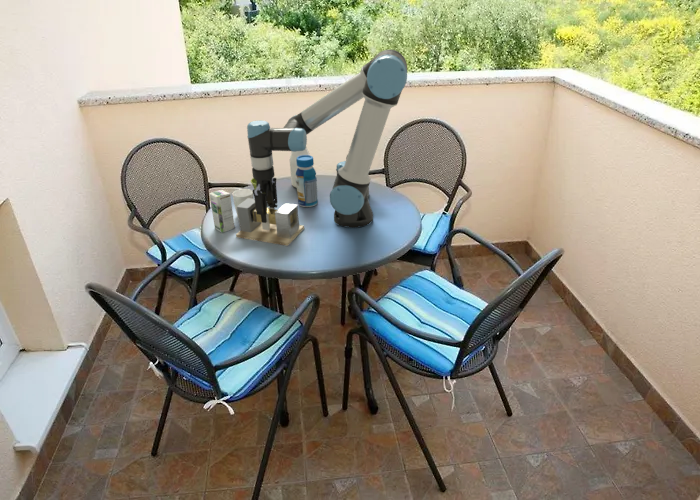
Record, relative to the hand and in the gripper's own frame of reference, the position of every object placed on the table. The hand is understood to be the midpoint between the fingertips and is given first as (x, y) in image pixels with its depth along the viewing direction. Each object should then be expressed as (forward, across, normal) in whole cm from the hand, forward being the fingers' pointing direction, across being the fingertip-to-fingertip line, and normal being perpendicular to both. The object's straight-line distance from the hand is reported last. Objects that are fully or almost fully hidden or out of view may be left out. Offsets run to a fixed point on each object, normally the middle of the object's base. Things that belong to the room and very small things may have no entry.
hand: (269, 226), depth 189 cm
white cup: (+3, -10, -16) cm, 19 cm away
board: (+3, 0, 0) cm, 3 cm away
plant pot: (+3, -27, -17) cm, 32 cm away
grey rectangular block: (+1, 0, +8) cm, 8 cm away
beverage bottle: (+3, -28, +3) cm, 28 cm away
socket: (+1, 0, -8) cm, 8 cm away
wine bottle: (+3, -46, -8) cm, 47 cm away
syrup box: (+3, +2, -18) cm, 19 cm away
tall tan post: (-2, 0, +2) cm, 3 cm away
